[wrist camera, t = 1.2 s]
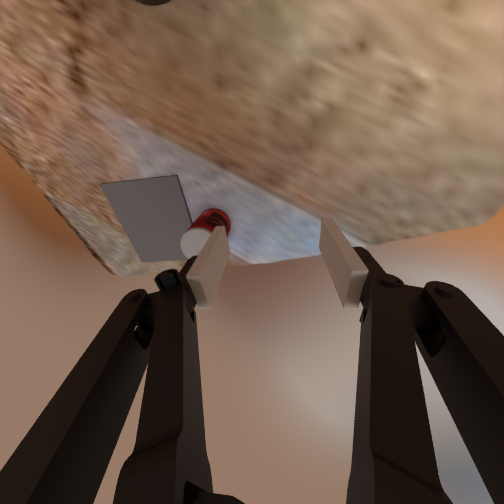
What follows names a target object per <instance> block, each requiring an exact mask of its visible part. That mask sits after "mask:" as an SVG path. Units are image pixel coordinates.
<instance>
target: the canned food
mask: <svg viewBox="0 0 504 504" xmlns="http://www.w3.org/2000/svg"><path fill="white" fill-rule="evenodd" d="M216 226H225V231H226V236H228V234H229V231H230V221H229V218H228V217H227V215H226V214H225V213H223V212H222V211H220V210H217V209H210V210H206V211H204V212H203V213H202V214H201V215H200V216H199V217H198V218H197V219H196V221H195V222H194V223H193V224H192V225H191V226H190V227H189V228H188V229H187V231H186V232H185V233H184V234H183V236H182V238H181V241H180V246H181V250H182V252H183V253H184V255H185V256H186V257H187V258H188V259H190V258H191V257H192V256H196V255H199V253H200V252H201V250H202V248H203V247H204V245H205V243H206V242H207V240H208V239H209V237H210V235H211V234H212V232H213V230H214V229H215V227H216Z"/></svg>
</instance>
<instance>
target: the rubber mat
mask: <svg viewBox="0 0 504 504" xmlns="http://www.w3.org/2000/svg"><path fill="white" fill-rule="evenodd" d="M100 186H101V187H102V189H103V191H104V193H105V195H106V197H107V199H108V200H109V202H110V204H111V206H112V208H113V210H114V211H115V213H116V215H117V217H118V219H119V221H120V223H121V224H122V226H123V228H124V230H125V232H126V234H127V236H128V237H129V239H130V241H131V243H132V245H133V247H134V248H135V250H136V252H137V254H138V256H139V258H140V260H141V261H142V262H153V261H174V260H188V258H187V257H186V256H185V255H184V253H183V252H182V250H181V246H180V241H181V238H182V236H183V234H184V233H185V232H186V231H187V229H188V228H189V227H190V226H191V225H192V224H193V223H192V220H191V216H190V213H189V210H188V207H187V204H186V201H185V197H184V194H183V191H182V188H181V185H180V182H179V178H178V175H173V176H165V177H156V178H148V179H139V180H131V181H122V182H114V183H105V184H100Z"/></svg>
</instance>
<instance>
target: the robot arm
mask: <svg viewBox="0 0 504 504" xmlns="http://www.w3.org/2000/svg"><path fill="white" fill-rule="evenodd" d="M136 1H138V2H141V3H144V4H149V5H156V4H162V3H165V2H167V1H169V0H136ZM319 249H320V251H321V254H322V256H323V258H324V261H325V263H326V266H327V268H328V271H329V273H330V276H331V278H332V280H333V283H334V286H335V288H336V290H337V293H338V295H339V298H340V300H341V303H342V305H343V307H344V308H358V306H359V303H360V302H361V303H362V305H363V311H362V314H361V317H360V322H361V333H360V348H359V362H358V363H359V364H358V378H357V393H356V407H355V421H354V436H353V451H352V465H351V472H350V477H349V483H348V489H347V499H346V504H453V503H452V502H451V500H450V499H449V497H448V496H447V495H446V493H445V492H444V491H443V488H442V486H441V483H440V479H439V475H438V470H437V464H436V458H435V453H434V447H433V441H432V436H431V431H430V424H429V419H428V413H427V408H426V402H425V396H424V391H423V386H422V380H421V375H420V369H419V364H418V357H417V352H416V347H415V342H416V344H417V346H418V348H419V351H420V353H421V355H422V357H423V359H424V361H425V363H426V365H427V367H428V369H429V371H430V373H431V375H432V377H433V379H434V381H435V383H436V385H437V387H438V390H439V392H440V394H441V396H442V398H443V400H444V402H445V404H446V406H447V408H448V410H449V412H450V414H451V416H452V418H453V420H454V422H455V424H456V426H457V428H458V430H459V433H460V435H461V437H462V438H463V441H464V443H465V445H466V447H467V449H468V451H469V453H470V455H471V457H472V459H473V461H474V463H475V465H476V467H477V469H478V472H479V473H480V475H481V478H482V479H483V482H484V484H485V486H486V488H487V490H488V492H489V494H490V496H491V498H492V500H493V502H494V504H504V336H503V334H502V333H501V332H500V331H499V330H498V329H497V328H496V327H495V326H494V325H493V324H492V323H491V322H490V320H489V319H488V318H487V317H486V316H485V315H484V314H483V313H482V312H481V311H480V310H479V309H478V308H477V306H476V305H475V304H474V303H473V302H472V301H471V300H470V299H469V298H468V297H467V296H466V295H465V294H464V293H463V292H462V291H461V290H460V289H458V288H456V287H454V286H453V285H450V284H447V283H444V282H439V281H430V282H428V283H426V285H425V287H424V288H421V287H415V286H408V285H405V284H404V283H403V281H402V280H400V279H399V278H398V277H396V276H394V275H390V274H386V272H385V271H384V270H383V269H382V267H381V266H380V265H379V264H378V263H377V261H375V259H374V258H373V257H372V255H371V254H370V253H369V252H368V251H367V250H366V249H364V248H362V247H352V246H351V244H350V243H349V242H348V240H347V239H346V237H345V236H344V235H343V233H342V232H341V230H340V229H339V228H338V226H337V225H336V223H335V222H334V220H333V219H332V218H325V219H322V221H321V233H320V244H319ZM229 254H230V250H229V245H228V240H227V236H226V231H225V226H216V227H215V229H214V230H213V232H212V234H211V235H210V237H209V239H208V240H207V242H206V243H205V245H204V247H203V248H202V250H201V252H200V253H199V255H196V256H192V257H191V258H190V259H188V260H187V262H186V263H185V265H184V266H183V269H181V271H180V272H178V271H177V270H176V269H169V270H165V271H163V272H161V273H160V274H158V275H157V276H156V277H155V279H154V280H155V282H156V284H157V286H158V288H159V289H160V291H158V292H154V293H150V294H147V292H146V290H144V289H137V290H134V291H131V292H129V293H128V294H127V295H126V296H124V298H123V299H122V300H121V301H120V303H119V304H118V306H117V307H116V309H115V310H114V311H113V313H112V314H111V315H110V317H109V319H108V320H107V321H106V323H105V324H104V325H103V327H102V328H101V330H100V331H99V333H98V334H97V335H96V337H95V338H94V340H93V341H92V342H91V344H90V345H89V347H88V348H87V349H86V351H85V352H84V354H83V355H82V357H81V358H80V359H79V361H78V362H77V364H76V365H75V366H74V368H73V370H72V371H71V372H70V374H69V375H68V376H67V378H66V379H65V381H64V382H63V383H62V385H61V386H60V388H59V389H58V391H57V392H56V394H55V395H54V396H53V398H52V399H51V400H50V402H49V403H48V405H47V406H46V407H45V409H44V410H43V412H42V413H41V415H40V416H39V418H38V419H37V420H36V422H35V423H34V425H33V426H32V427H31V429H30V430H29V432H28V433H27V435H26V436H25V437H24V439H23V440H22V441H21V443H20V444H19V446H18V447H17V449H16V450H15V452H14V453H13V454H12V456H11V457H10V458H9V460H8V461H7V463H6V464H5V466H4V467H3V468H2V470H1V471H0V504H93V503H94V500H95V497H96V495H97V492H98V490H99V487H100V485H101V482H102V480H103V477H104V474H105V472H106V469H107V467H108V464H109V461H110V459H111V456H112V454H113V451H114V449H115V446H116V444H117V441H118V439H119V436H120V433H121V431H122V428H123V426H124V423H125V421H126V418H127V415H128V413H129V410H130V408H131V405H132V403H133V400H134V398H135V395H136V392H137V390H138V387H139V385H140V382H141V380H142V377H143V374H144V372H145V369H146V367H147V364H148V368H147V375H146V381H145V387H144V393H143V399H142V405H141V412H140V418H139V424H138V430H137V437H136V443H135V447H134V450H133V452H132V454H131V455H130V456H129V457H128V459H127V460H126V461H125V462H124V464H123V466H122V469H121V471H120V474H119V478H118V482H117V485H116V490H115V495H114V500H113V504H245V503H243V502H242V501H240V500H238V499H237V498H235V497H233V496H229V495H222V494H215V493H213V486H212V477H211V470H210V464H209V461H208V457H207V452H206V442H205V429H204V416H203V402H202V391H201V377H200V363H199V350H198V336H197V323H196V313H195V310H194V307H195V305H196V303H197V305H198V308H199V309H210V308H211V306H212V303H213V300H214V297H215V294H216V291H217V289H218V286H219V283H220V280H221V277H222V274H223V271H224V268H225V266H226V263H227V260H228V257H229ZM136 325H137V328H136V330H135V327H136ZM134 330H135V331H134Z"/></svg>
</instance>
